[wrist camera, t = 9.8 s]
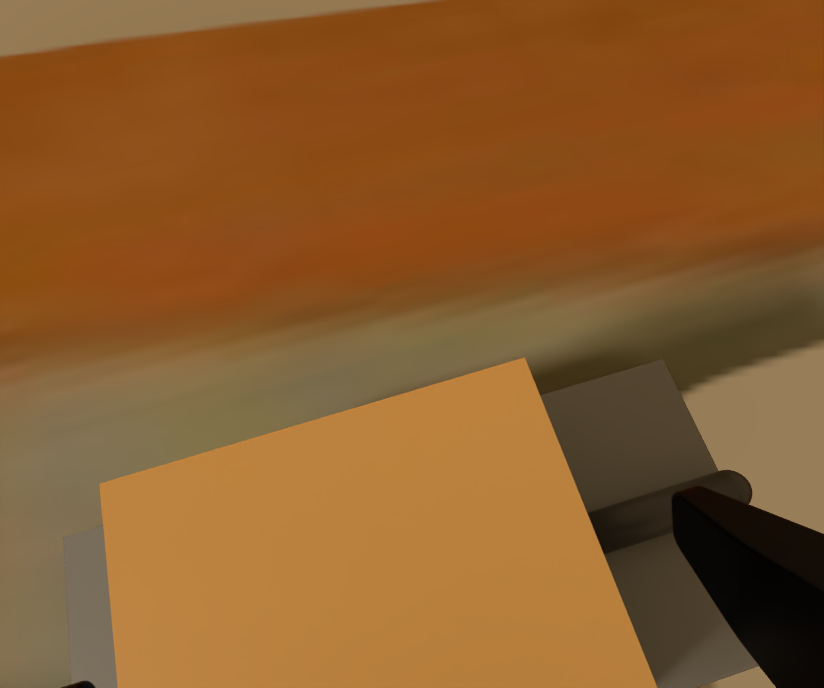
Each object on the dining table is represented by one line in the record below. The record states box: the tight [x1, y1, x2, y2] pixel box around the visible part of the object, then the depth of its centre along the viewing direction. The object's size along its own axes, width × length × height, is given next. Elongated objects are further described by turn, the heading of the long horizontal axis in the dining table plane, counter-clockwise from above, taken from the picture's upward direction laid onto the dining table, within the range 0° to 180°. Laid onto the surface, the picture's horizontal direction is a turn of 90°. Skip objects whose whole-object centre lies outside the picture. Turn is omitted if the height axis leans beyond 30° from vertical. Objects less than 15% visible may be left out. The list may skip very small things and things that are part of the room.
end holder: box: [63, 359, 759, 688], centre depth 16 cm, size 9×20×4 cm, turn 106°
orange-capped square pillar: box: [100, 357, 657, 688], centre depth 10 cm, size 5×5×13 cm
